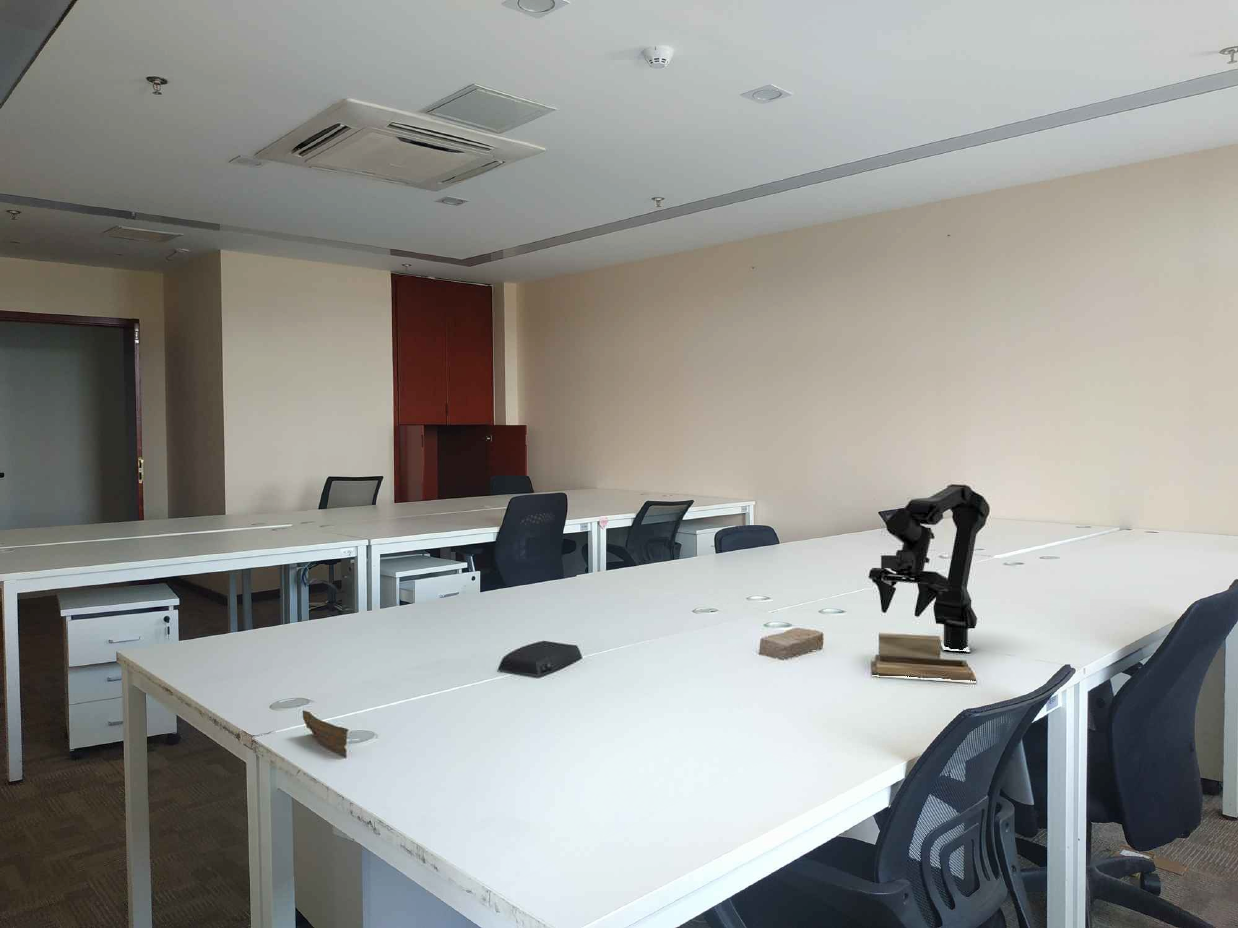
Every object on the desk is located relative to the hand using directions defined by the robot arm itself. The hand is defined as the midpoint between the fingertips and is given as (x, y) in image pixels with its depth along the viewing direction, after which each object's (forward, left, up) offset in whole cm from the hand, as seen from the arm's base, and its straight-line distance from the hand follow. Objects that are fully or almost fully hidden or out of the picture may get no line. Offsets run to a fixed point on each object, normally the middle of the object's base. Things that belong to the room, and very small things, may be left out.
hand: (899, 614), depth 197 cm
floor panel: (+1, +5, -13) cm, 14 cm away
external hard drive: (+15, -82, -14) cm, 85 cm away
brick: (-12, -25, -14) cm, 31 cm away
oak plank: (-11, +3, -14) cm, 18 cm away
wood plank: (+73, -101, -14) cm, 126 cm away
